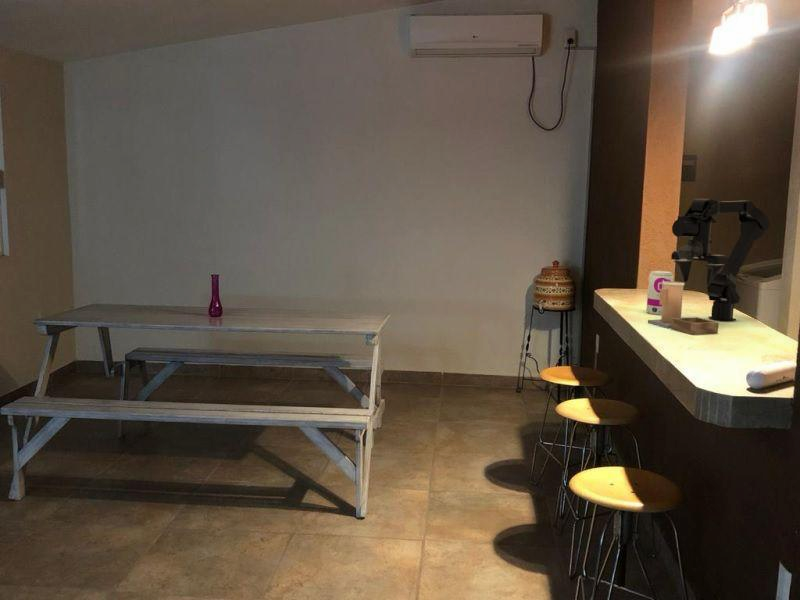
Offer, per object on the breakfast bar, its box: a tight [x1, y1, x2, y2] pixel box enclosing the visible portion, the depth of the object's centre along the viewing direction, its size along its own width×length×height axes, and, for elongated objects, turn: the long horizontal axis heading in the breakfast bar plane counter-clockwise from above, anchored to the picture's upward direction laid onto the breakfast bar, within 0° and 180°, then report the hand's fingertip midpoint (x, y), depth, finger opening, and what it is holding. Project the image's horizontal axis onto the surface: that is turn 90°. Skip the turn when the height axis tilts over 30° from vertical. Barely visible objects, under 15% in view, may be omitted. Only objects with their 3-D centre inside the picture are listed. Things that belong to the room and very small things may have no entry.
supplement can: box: [646, 270, 674, 316], centre depth 273 cm, size 8×8×15 cm
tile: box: [647, 319, 671, 329], centre depth 251 cm, size 10×10×1 cm
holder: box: [670, 316, 719, 336], centre depth 240 cm, size 10×10×4 cm
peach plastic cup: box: [659, 280, 686, 323], centre depth 249 cm, size 9×7×13 cm
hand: (696, 283), depth 257 cm, fingers open, 9 cm apart
